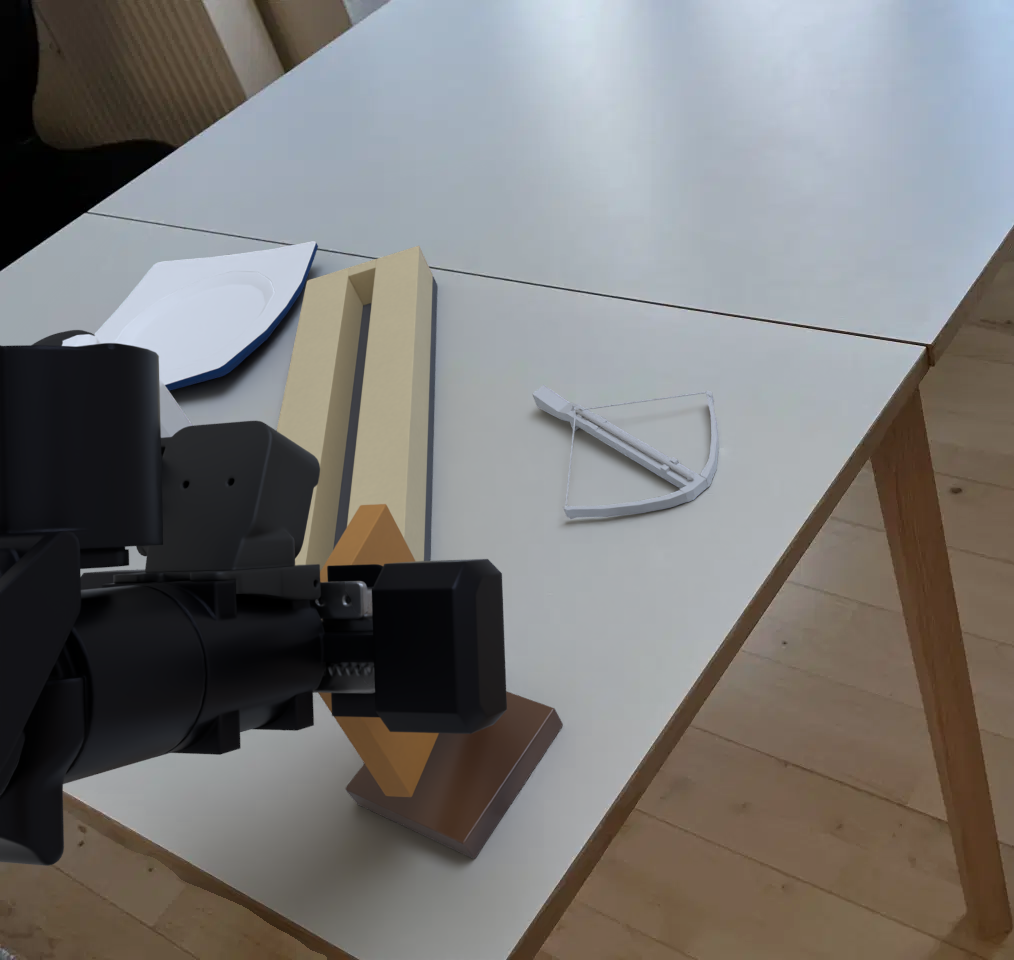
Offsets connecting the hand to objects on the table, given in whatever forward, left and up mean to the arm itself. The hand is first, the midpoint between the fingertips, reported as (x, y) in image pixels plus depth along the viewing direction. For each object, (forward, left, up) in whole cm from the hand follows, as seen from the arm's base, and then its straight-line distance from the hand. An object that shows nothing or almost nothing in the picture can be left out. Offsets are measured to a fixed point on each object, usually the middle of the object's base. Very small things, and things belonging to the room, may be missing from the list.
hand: (392, 623), depth 51 cm
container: (+9, +39, -10) cm, 41 cm away
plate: (+26, +52, -10) cm, 59 cm away
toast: (-2, -1, -6) cm, 6 cm away
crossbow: (+22, +4, -10) cm, 25 cm away
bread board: (-1, 0, -10) cm, 10 cm away
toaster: (+18, +23, -10) cm, 31 cm away
